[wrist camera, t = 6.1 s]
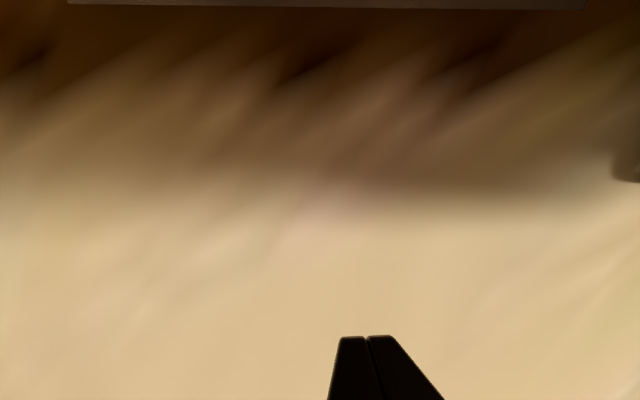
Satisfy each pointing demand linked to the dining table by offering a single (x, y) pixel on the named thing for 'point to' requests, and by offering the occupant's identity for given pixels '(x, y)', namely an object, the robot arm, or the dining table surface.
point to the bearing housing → (366, 3)
